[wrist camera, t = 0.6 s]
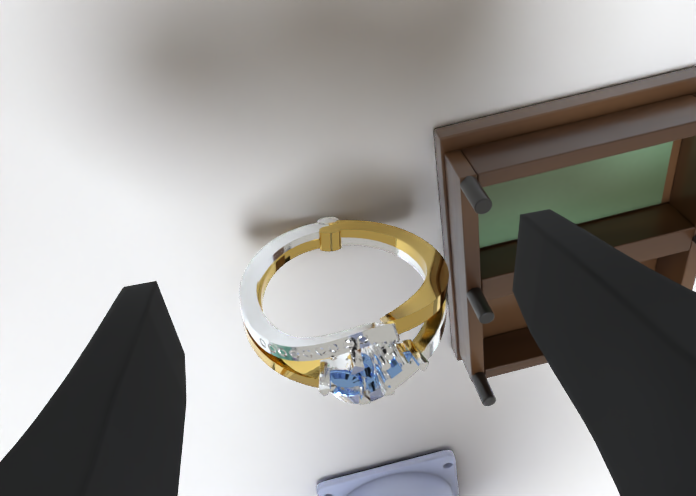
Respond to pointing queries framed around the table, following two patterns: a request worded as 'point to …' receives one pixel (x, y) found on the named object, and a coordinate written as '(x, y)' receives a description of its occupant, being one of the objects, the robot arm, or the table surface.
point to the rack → (563, 200)
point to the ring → (356, 343)
